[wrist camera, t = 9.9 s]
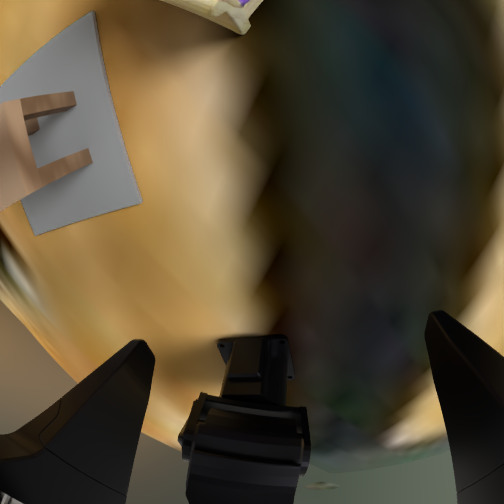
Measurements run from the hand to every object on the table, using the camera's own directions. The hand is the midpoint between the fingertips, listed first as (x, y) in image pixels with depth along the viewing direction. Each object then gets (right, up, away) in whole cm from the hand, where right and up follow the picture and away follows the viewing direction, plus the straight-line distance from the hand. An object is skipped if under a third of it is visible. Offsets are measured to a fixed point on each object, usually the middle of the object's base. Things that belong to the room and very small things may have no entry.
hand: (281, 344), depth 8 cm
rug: (-17, +12, +9) cm, 23 cm away
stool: (-16, +11, +9) cm, 22 cm away
